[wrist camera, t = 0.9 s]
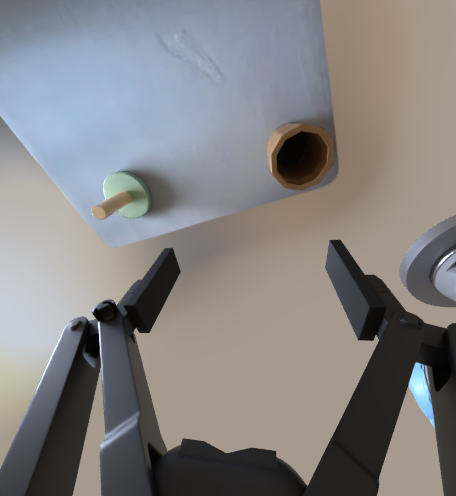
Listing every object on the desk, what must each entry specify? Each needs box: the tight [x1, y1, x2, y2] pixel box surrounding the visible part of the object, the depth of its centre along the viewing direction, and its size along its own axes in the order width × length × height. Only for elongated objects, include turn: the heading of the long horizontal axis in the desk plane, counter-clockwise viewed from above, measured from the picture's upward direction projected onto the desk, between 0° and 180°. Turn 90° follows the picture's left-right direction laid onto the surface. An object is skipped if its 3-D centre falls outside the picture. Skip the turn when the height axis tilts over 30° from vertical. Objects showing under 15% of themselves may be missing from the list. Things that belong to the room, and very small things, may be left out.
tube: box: [267, 123, 335, 191], centre depth 26 cm, size 6×7×12 cm
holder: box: [92, 172, 151, 220], centre depth 35 cm, size 9×9×9 cm
